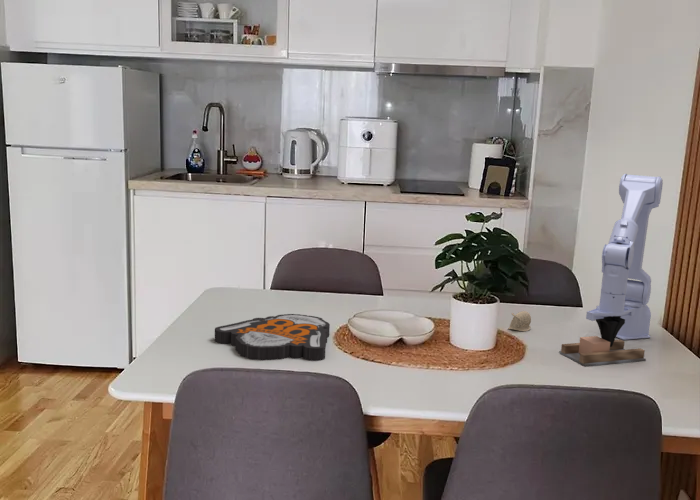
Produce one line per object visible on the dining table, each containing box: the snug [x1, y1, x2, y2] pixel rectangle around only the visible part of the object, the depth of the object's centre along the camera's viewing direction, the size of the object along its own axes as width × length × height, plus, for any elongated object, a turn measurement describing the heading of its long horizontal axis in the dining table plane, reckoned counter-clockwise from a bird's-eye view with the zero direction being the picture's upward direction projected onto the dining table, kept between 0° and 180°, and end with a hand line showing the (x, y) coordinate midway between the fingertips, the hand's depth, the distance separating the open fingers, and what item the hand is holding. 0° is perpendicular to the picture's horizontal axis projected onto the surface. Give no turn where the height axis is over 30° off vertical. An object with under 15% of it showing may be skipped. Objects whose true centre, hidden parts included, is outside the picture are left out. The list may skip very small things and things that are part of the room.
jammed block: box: [578, 335, 610, 353], centre depth 174 cm, size 5×5×4 cm
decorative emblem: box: [214, 313, 330, 362], centre depth 176 cm, size 29×3×30 cm
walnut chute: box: [558, 339, 647, 368], centre depth 175 cm, size 18×10×2 cm, turn 110°
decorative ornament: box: [507, 310, 532, 332], centre depth 195 cm, size 4×8×5 cm, turn 126°
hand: (607, 345), depth 175 cm, fingers closed
